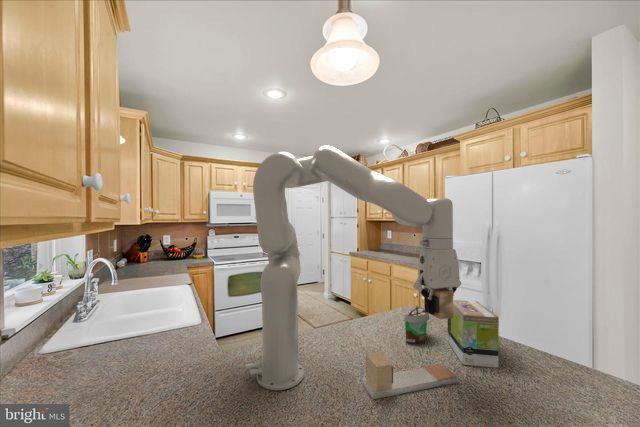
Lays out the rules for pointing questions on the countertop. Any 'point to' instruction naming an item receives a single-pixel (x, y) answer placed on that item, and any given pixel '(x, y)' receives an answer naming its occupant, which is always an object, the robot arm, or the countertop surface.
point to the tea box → (474, 334)
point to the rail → (401, 377)
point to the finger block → (443, 303)
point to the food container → (416, 326)
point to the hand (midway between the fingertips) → (438, 311)
